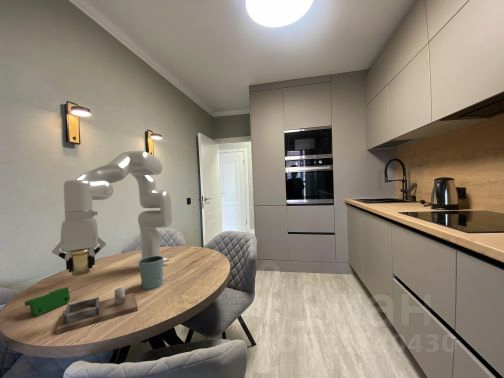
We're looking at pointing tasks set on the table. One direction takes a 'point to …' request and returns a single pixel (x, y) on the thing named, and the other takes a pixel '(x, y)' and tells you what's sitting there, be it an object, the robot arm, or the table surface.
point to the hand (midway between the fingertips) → (81, 268)
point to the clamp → (48, 301)
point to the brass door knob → (80, 262)
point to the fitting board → (96, 310)
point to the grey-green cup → (151, 272)
